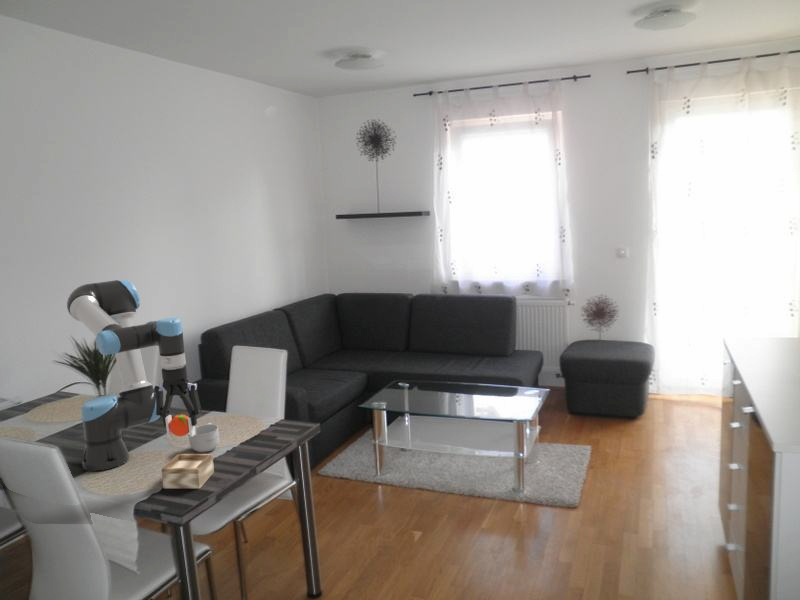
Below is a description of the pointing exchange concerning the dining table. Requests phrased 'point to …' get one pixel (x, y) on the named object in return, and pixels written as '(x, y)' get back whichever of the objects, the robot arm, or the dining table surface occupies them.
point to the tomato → (179, 425)
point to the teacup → (205, 438)
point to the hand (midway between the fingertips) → (181, 435)
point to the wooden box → (188, 471)
